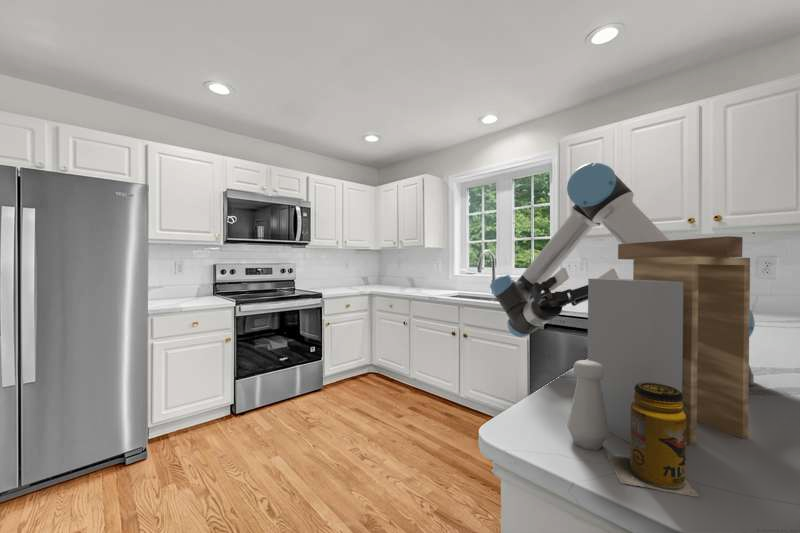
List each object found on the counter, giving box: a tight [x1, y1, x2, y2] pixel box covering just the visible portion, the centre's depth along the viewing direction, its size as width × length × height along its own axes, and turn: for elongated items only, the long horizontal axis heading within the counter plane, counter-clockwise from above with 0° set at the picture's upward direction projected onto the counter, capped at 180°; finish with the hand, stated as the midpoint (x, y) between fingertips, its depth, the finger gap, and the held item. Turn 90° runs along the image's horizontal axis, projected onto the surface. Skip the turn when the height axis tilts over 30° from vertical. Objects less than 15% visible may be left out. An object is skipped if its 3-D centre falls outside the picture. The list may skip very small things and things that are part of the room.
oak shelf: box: [632, 256, 751, 446], centre depth 63 cm, size 12×11×30 cm
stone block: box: [586, 278, 683, 444], centre depth 61 cm, size 6×13×26 cm, turn 12°
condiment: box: [606, 383, 700, 497], centre depth 48 cm, size 7×8×12 cm
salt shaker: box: [567, 359, 610, 451], centre depth 57 cm, size 6×6×13 cm
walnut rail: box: [617, 235, 744, 260], centre depth 67 cm, size 3×21×3 cm, turn 12°
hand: (591, 273), depth 84 cm, fingers open, 13 cm apart
